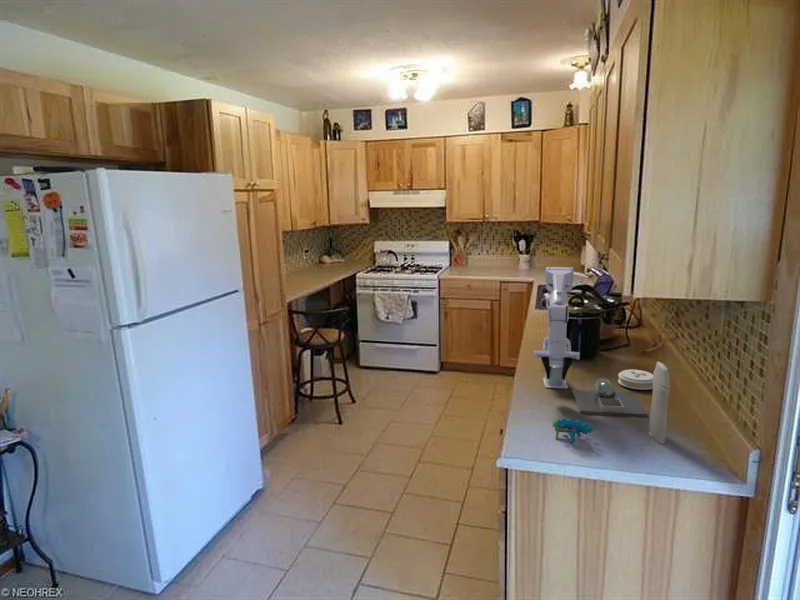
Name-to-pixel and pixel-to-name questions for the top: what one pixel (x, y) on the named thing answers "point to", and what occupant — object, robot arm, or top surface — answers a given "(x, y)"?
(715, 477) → the top surface
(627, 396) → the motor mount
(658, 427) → the tall pale column
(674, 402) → the top surface
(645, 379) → the lid
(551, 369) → the grey rounded capsule
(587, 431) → the teal bumpy piece
